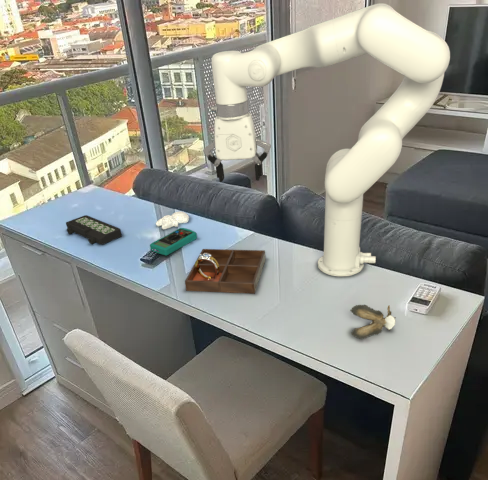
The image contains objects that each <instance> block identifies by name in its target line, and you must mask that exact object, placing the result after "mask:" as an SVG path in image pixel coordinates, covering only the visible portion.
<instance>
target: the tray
mask: <svg viewBox="0 0 488 480" xmlns="http://www.w3.org/2000/svg"><path fill="white" fill-rule="evenodd" d="M204 253H206V254H207V253H208V254H211V256H212V257H213V258H214V259H215V260H216V261H217V263H218V265H219V274H218V276H217V277H216V278H215V279H214V280H209V281H207V280H206V279H204V278H203V277H202V276H201V275H200V274H199V273H198V272H197V270H196V267H195V263H194V264H193V266H192V267H191V269H190V271H189V273H188V275H187V277H186V278H185V280H184V285H185V291H187V292H205V293H206V292H207V293H226V294H227V293H229V294H230V293H231V294H249V295H251V294H253V295H254V294H256V292H257V288H258V285H259V282H260V279H261V276H262V272H263V269H264V266H265V263H266V260H267V258H266V250H264V249H262V250H259V249H227V248H226V249H225V248H202V249H201V251H200V253H199V255H198V257H197V259H198V258H199V257H200V254H202V255H203V254H204ZM197 259H196V260H197ZM199 267H200V269H201V271H202V272H203V274H205V275H206V276H210V277H214V276H215V268H214V266H213V264H212V263H211V262H209V261H206V260H202V261H200V262H199Z"/></svg>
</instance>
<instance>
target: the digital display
mask: <svg viewBox="0 0 488 480" xmlns="http://www.w3.org/2000/svg"><path fill="white" fill-rule="evenodd" d="M65 225H66V228H67V229H66V232H67V234H68V235H72V234H76V235H79V236H81V237H83V238H85V239H87V240H88V243H89V244H90V245H94V244H98V245H105V244H107V243H110V242H112V241H115V240H117V239H120V238H122V235H123V234H122V230H121V228H119V227H117V226H114V225H112V224H111V223H107V222H105V221H102V220H100V219H97V218H95V217H92V216H89V215H87V214H84V215H82V216H79V217H75V218H74V219H71V220H69V221H68V220H67V221H66V222H65Z"/></svg>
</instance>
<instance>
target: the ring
mask: <svg viewBox="0 0 488 480" xmlns="http://www.w3.org/2000/svg"><path fill="white" fill-rule="evenodd" d="M199 255H200V257H199V256H198V257H199V258H198V257H197V258H198V259H196V260H195V262H194V264H195V267H196V270H197V272H198V273H199V274H200V275H201V276H202V277H203V278H204V279H206V280H207V281H209V280H214V279H215V278H216V277H217V276H218V274H219V265H218V263H217V261H216V260H215V259H214V258H213V257H212V256H211V254H208V253H207V254H206V253H204V254H203V255H202V254H200V253H199ZM202 260H206V261H209V262H211V263H212V264H213V266H214V268H215V276H214V277H210V276H206V275H205V274H203V272H202V271H201V269H200V267H199V262H200V261H202Z"/></svg>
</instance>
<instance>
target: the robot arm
mask: <svg viewBox="0 0 488 480" xmlns="http://www.w3.org/2000/svg"><path fill="white" fill-rule="evenodd" d="M365 55H368V56H370V57H372V58H373V59H374V60H376V61H378V62H380V63H381V64H382V65H385V66H387V67H388V68H390V69H392V70H394V71H395V72H397V73H399V74H401V75H402V76H403V79H402V81H401V82H400V84H399V86H398V87H397V88H396V90H395V91H394V92H393V93H392V94H391V95H390V97H388V100H386V101H385V103H383V104H382V106H381V107H380V108H379V109H378V110H376V112H375V113H374V114H373V115H372V116H370V117H369V119H368V120H367V121H366V122H365V123H364V124H363V125H362V126H361V128H360V130H359V132H358V137H357V141H356V143H355V144H354V145H353V146H352V147H351V148H342V149H339V150H337V151H336V152H334V153H333V154H332V155H331V156H330V158H329V159H328V161H327V163H326V167H325V173H324V191H325V198H324V199H325V203H324V226H323V227H324V228H323V229H324V230H323V255H321V256H320V257H319V258H318V259H317V268H318V269H319V270H320V271H321V272H322V273H323V274H326V275H329V276H332V277H350V276H354V275H357V274H358V273H360V272H362V271H363V269H364V265H365V264H376V262H377V261H376V260H377V259H376V258H377V256H375V255H372V252H363V251H361V247H360V245H361V244H360V242H361V231H362V217H363V206H364V194H365V193H366V192H367V191H368V190H369V189H370V188H371V187H373V185H374V184H375V183H376V182H377V181H378V180H379V179H380V178H382V177H383V176H384V174H386V173H387V172H388V171H389V170H390V168H392V167H393V166H394V164H395V163H396V162H397V160H398V159H399V157H400V155H401V153H402V152H401V151H402V148H403V139H404V138H405V137H406V136H407V134H408V133H410V131H411V130H412V129H413V128H414V127H415V126H416V125H417V124H418V123H419V122H420V121H421V120H422V118H423V117H425V115H426V114H427V113H428V112H429V110H430V109H431V108H432V106H433V105H434V103H435V102H436V100H437V98H438V96H439V94H440V92H441V89H442V86H443V82H444V78H445V72H446V71H447V69H448V67H449V64H450V60H451V50H450V47H449V45H448V43H447V42H446V40H444V38H443V37H441V35H439V33H436V32H434V31H433V30H427V29H425V28H423V27H421V26H420V25H418V24H416V23H414V21H411V20H410V19H408V18H406V17H405V16H404V15H402V14H400V13H399V12H397V10H395V9H394V8H393V7H392V6H391V5H390V4H387V3H383V2H382V3H374V4H371V5H369V6H366V7H363V8H360V9H357V10H354V11H351V12H348V13H345V14H342V15H340V16H337V17H334V18H331V19H329V20H326V21H323V22H320V23H317V24H314V25H312V26H309V27H306V28H305V29H303V30H300V31H296V32H294V33H291V34H287V35H285V36H282V37H280V38H276V39H273V40H271V41H267V42H265V43H262V44H260V45H257V46H256V47H255V48H253V49H252V50H250V51H247V52H246V51H245V52H242V51H240V50H225V51H224V50H223V51H220V52H217V53H214V54H213V55H212V57H211V61H210V62H211V70H212V71H211V72H212V78H213V87H214V94H215V95H214V96H215V101H216V102H215V104H214V105H211V106H210V111H211V113H215V114H216V116H215V117H214V121H213V122H214V124H213V125H214V127H213V129H214V130H213V133H214V141H213V142H211V143H210V144H207V146H205V147H204V148H203V149H202V152H203V153H204V155H205V157H206V158H207V161H209V162H210V163H211V164H212V165H213V166H214V168H215V172H216V178H217V179H218V181H219V183H222V182H223V181H224V180H225V173H224V171H225V170H224V164H223V162H222V161H239V160H250V159H251V160H253V162H254V163H255V164H254V174H255V181H260V178H261V177H262V176H263V167H262V163H263V162H264V161H265V159H266V158H267V157H268V155H269V153H270V151H271V148H272V145H271V143H269V142H267V141H265V140H262V139H261V138H258V137H257V133H256V127H255V123H254V119H253V115H252V113H250V112H249V101H248V90H247V87H251V88H262V87H266V86H268V85H269V84H270V83H271V82H272V81H273V80H274V78H275V77H278V76H281V75H285V74H287V73H290V72H293V71H297V70H301V69H305V68H317V69H320V68H328V67H332V66H334V65H337V64H340V63H342V62H346V61H349V60H353V59H356V58H359V57H363V56H365ZM258 147H260V148H261V149H263V152H262V153H261V155H260V153H258ZM212 150H215V155H214V154H212V152H211V151H212Z"/></svg>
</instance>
